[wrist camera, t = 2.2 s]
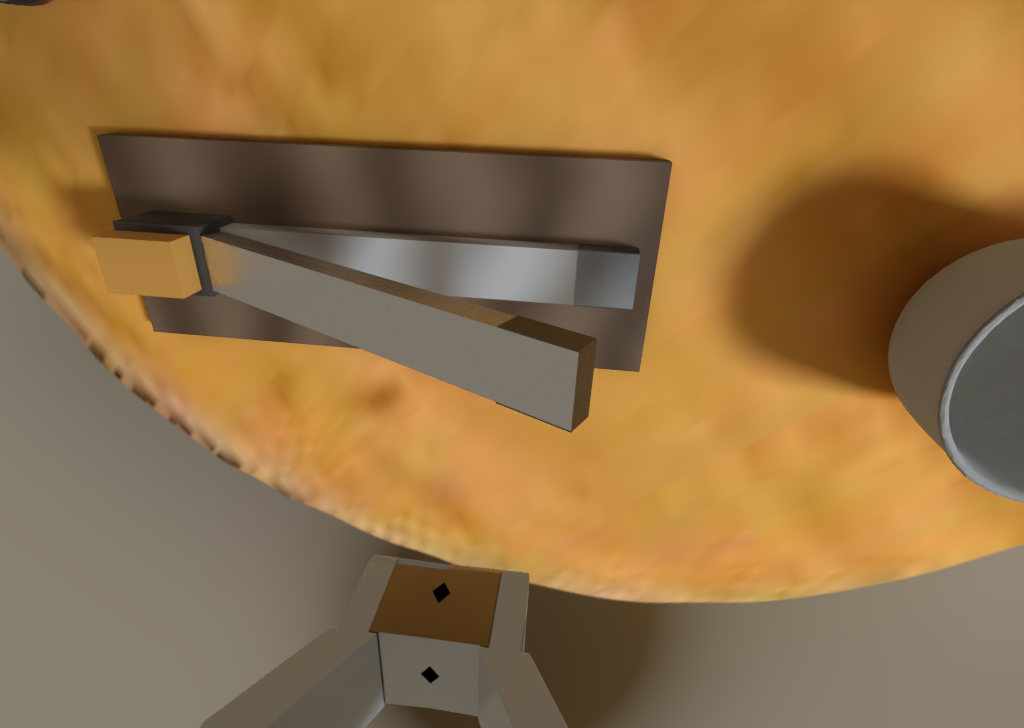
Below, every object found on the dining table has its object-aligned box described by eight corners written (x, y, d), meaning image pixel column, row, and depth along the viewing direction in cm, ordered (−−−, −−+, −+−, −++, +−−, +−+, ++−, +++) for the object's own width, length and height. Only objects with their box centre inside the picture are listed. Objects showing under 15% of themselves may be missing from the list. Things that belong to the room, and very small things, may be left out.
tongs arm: (235, 285, 29) (213, 291, 28) (223, 230, 27) (200, 234, 27) (588, 416, 18) (570, 432, 17) (597, 338, 17) (579, 350, 16)
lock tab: (129, 284, 28) (108, 292, 27) (113, 230, 27) (90, 236, 26) (201, 289, 28) (184, 298, 27) (188, 234, 27) (169, 242, 25)
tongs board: (165, 325, 34) (118, 350, 30) (112, 133, 29) (49, 139, 25) (637, 363, 31) (644, 397, 28) (669, 160, 26) (681, 170, 23)
